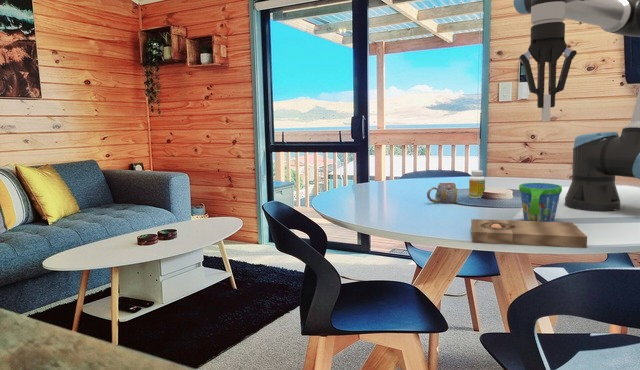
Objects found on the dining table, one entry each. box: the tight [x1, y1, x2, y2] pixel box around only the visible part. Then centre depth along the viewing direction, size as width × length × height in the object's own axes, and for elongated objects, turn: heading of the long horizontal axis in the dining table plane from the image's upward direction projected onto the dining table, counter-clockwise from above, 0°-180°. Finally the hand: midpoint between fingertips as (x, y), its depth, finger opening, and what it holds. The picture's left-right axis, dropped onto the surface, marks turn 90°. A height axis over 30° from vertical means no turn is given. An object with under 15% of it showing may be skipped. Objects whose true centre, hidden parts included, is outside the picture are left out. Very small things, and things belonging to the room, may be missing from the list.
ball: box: [491, 224, 502, 228], centre depth 113 cm, size 3×3×3 cm
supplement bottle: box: [468, 169, 486, 199], centre depth 166 cm, size 5×5×10 cm
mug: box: [426, 182, 458, 205], centre depth 158 cm, size 12×7×7 cm, turn 113°
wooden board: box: [470, 218, 588, 249], centre depth 111 cm, size 24×14×2 cm, turn 73°
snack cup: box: [518, 182, 563, 222], centre depth 126 cm, size 16×10×10 cm
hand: (545, 121), depth 115 cm, fingers closed
